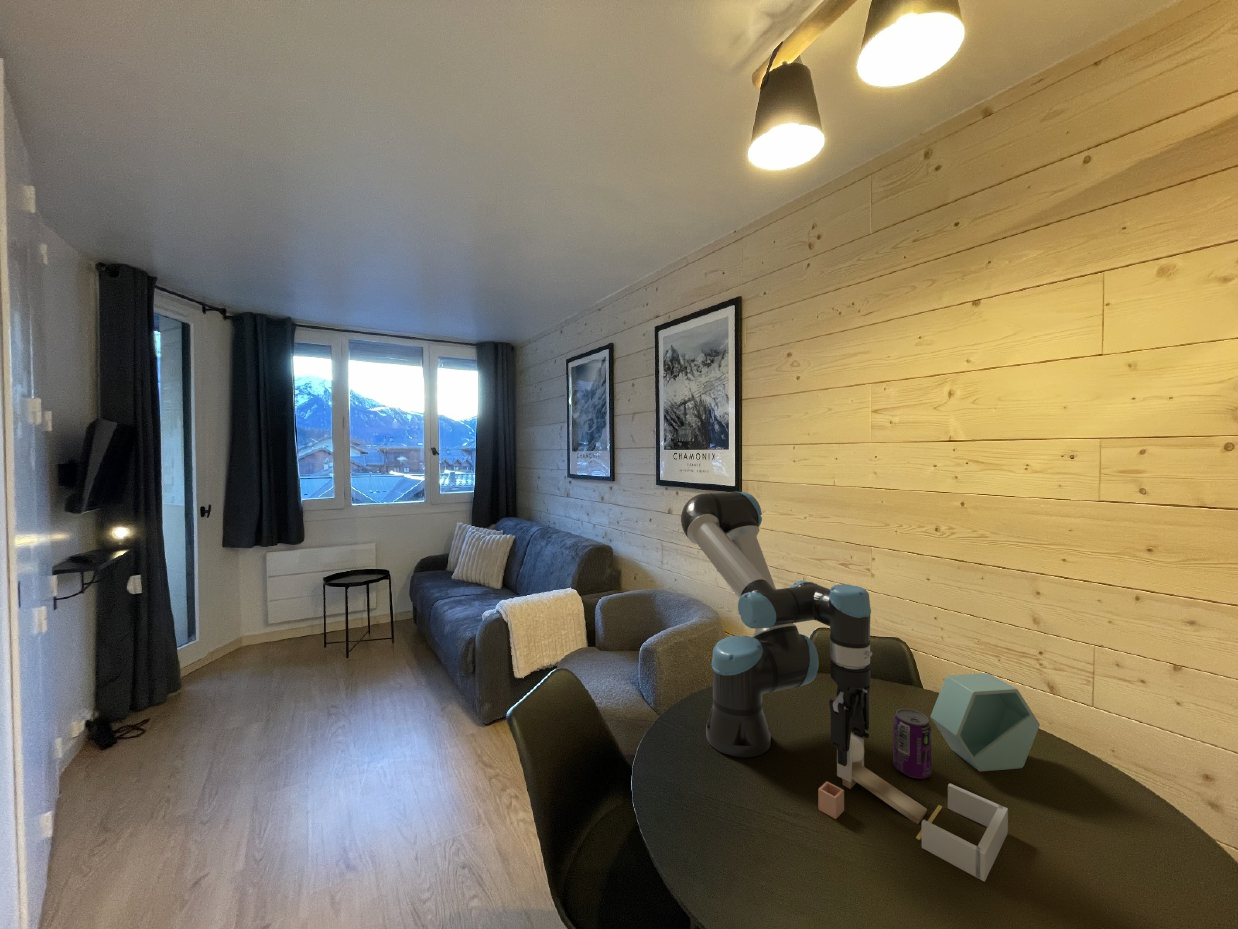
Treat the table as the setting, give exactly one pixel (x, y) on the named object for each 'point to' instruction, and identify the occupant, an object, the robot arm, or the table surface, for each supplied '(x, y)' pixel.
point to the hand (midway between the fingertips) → (850, 772)
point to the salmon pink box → (831, 799)
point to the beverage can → (912, 743)
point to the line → (930, 820)
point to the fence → (960, 850)
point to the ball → (856, 749)
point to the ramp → (885, 792)
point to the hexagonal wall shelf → (985, 721)
